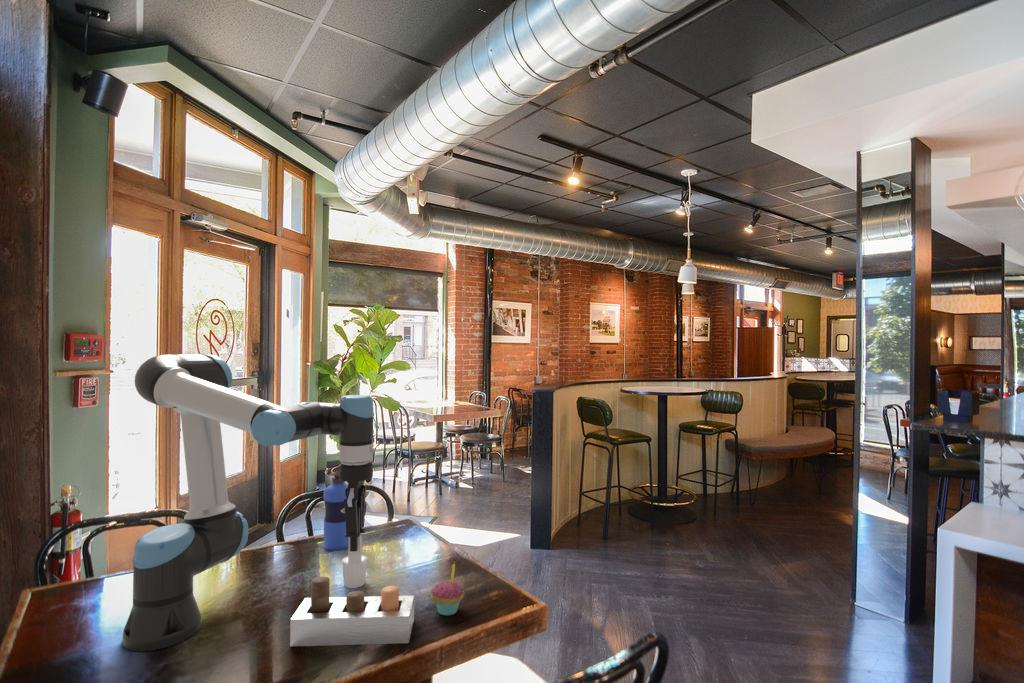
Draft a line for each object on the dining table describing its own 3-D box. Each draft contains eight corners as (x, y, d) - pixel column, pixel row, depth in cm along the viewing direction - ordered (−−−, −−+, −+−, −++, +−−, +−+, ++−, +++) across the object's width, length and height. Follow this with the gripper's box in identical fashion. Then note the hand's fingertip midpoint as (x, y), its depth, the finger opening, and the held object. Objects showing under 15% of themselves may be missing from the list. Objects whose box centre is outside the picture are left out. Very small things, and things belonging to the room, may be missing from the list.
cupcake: (450, 599, 139) (451, 554, 140) (471, 611, 133) (472, 563, 133) (423, 611, 133) (424, 563, 134) (444, 623, 127) (444, 573, 127)
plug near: (308, 615, 120) (308, 584, 120) (313, 606, 124) (314, 576, 124) (326, 614, 121) (326, 584, 121) (331, 606, 125) (331, 576, 125)
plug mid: (344, 629, 121) (344, 599, 121) (348, 620, 125) (348, 590, 125) (361, 629, 121) (362, 598, 121) (365, 620, 125) (365, 590, 125)
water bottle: (317, 549, 173) (318, 473, 173) (331, 539, 182) (332, 466, 182) (344, 551, 171) (345, 474, 172) (357, 541, 180) (358, 468, 181)
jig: (290, 646, 117) (290, 619, 117) (304, 623, 127) (305, 597, 127) (408, 643, 119) (408, 616, 119) (413, 620, 129) (414, 595, 129)
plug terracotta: (379, 624, 121) (380, 593, 121) (382, 615, 125) (383, 585, 125) (397, 623, 122) (397, 593, 122) (399, 615, 126) (400, 585, 126)
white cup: (359, 590, 144) (360, 564, 145) (336, 587, 146) (337, 562, 146) (371, 579, 151) (371, 554, 151) (349, 577, 153) (349, 552, 153)
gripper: (366, 468, 117) (365, 574, 117) (377, 455, 130) (376, 552, 130) (332, 468, 117) (330, 575, 116) (346, 456, 130) (345, 552, 129)
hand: (354, 563), depth 123 cm, fingers closed
